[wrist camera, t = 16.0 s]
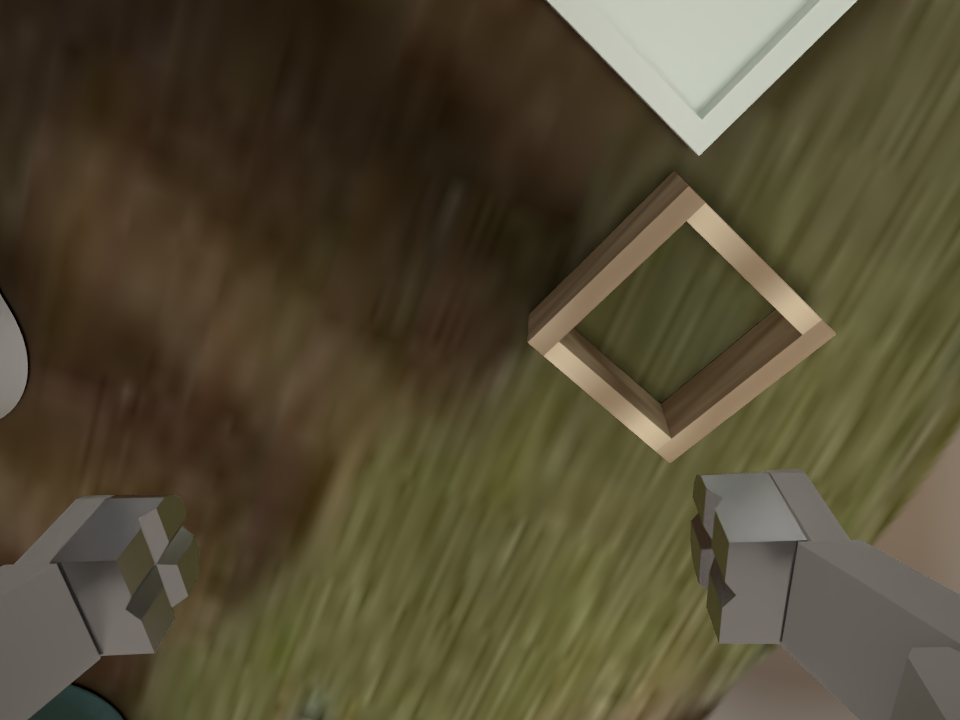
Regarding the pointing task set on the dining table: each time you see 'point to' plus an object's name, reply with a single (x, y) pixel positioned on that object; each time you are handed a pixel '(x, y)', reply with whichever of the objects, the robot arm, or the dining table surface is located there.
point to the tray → (700, 52)
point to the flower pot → (76, 707)
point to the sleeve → (721, 381)
